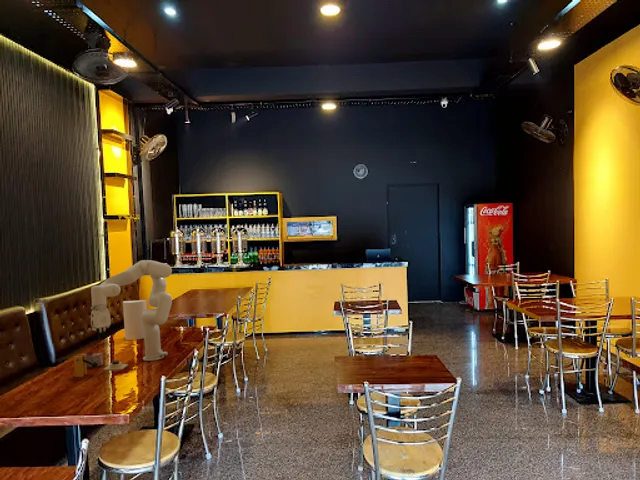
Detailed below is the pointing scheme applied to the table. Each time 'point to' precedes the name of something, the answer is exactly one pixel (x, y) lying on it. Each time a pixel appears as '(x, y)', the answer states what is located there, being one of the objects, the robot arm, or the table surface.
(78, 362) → the lever bracket
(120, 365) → the control block
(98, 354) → the food item
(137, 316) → the cylinder
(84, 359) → the press lever
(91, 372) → the table surface
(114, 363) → the stop button
